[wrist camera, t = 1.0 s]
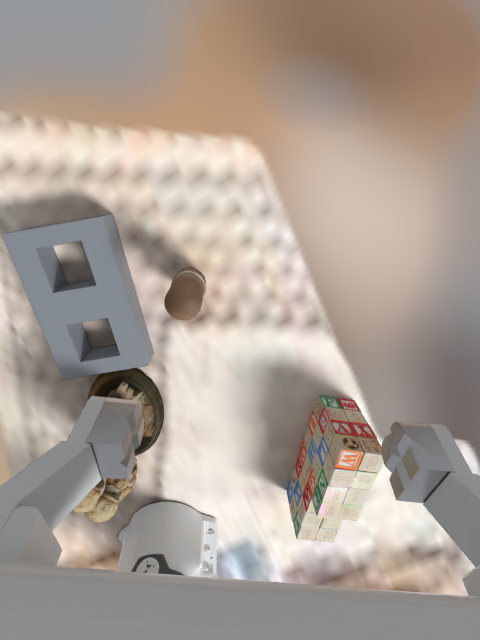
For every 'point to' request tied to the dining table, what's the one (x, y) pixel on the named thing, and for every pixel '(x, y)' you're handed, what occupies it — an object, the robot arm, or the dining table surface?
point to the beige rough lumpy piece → (112, 491)
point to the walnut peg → (186, 294)
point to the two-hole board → (82, 296)
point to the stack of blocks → (332, 469)
